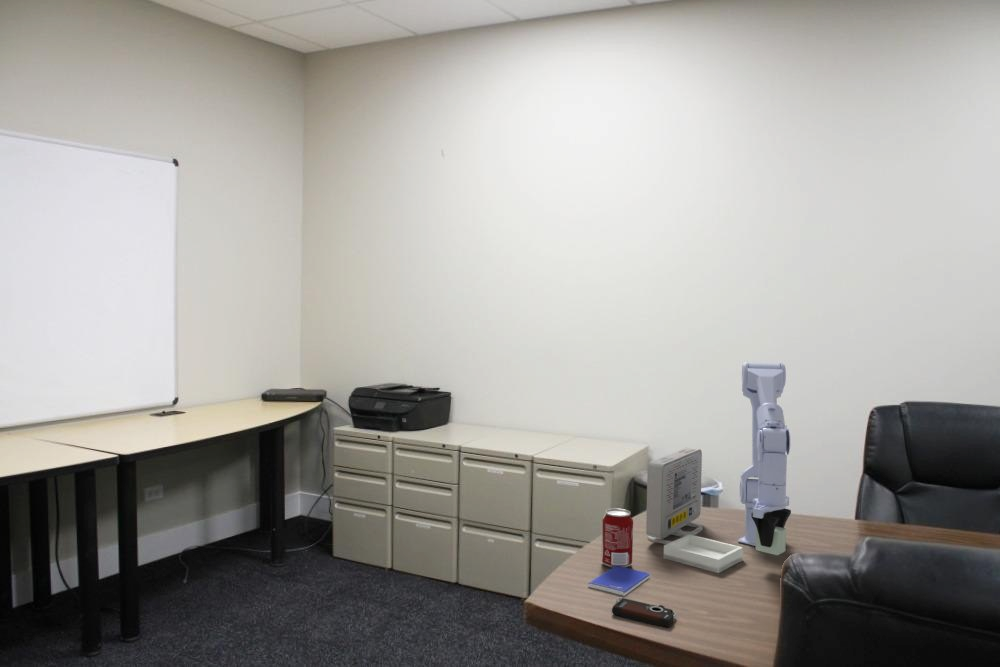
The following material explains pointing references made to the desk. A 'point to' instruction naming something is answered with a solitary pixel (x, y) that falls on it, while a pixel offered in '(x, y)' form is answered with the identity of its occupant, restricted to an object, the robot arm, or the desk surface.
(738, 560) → the desk bin
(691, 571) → the desk surface
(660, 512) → the network device
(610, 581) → the hard drive
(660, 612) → the camera
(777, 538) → the sage block
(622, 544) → the soda can
